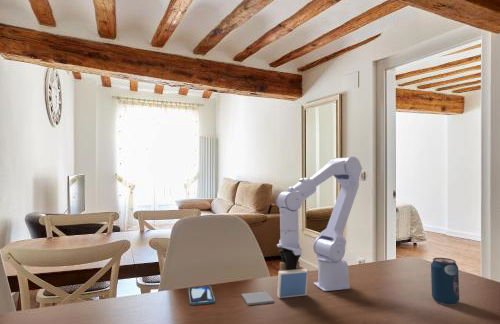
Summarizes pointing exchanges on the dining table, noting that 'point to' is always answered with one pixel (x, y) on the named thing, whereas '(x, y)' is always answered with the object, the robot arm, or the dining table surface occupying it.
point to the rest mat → (257, 298)
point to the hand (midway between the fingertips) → (289, 273)
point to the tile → (292, 283)
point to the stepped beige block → (283, 266)
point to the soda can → (445, 281)
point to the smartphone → (201, 295)
